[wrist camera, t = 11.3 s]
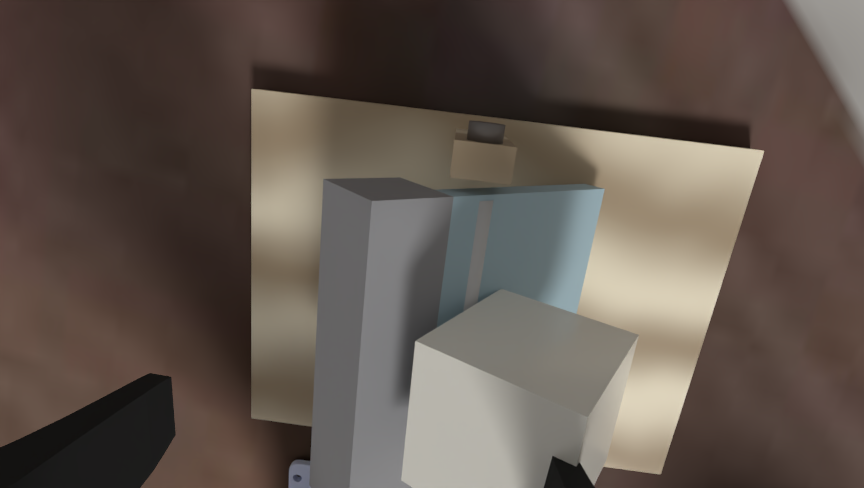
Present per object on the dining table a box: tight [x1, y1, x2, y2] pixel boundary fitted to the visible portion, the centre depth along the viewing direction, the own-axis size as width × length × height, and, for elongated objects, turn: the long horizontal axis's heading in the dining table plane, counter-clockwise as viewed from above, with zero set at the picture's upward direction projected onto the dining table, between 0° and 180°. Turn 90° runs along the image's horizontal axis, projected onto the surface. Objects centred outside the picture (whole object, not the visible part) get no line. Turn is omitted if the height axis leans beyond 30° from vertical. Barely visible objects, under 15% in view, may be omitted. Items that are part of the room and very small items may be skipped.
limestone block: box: [401, 289, 639, 488], centre depth 15 cm, size 5×5×6 cm
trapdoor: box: [309, 177, 605, 488], centre depth 20 cm, size 12×12×3 cm
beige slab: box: [251, 89, 764, 474], centre depth 21 cm, size 17×22×7 cm
